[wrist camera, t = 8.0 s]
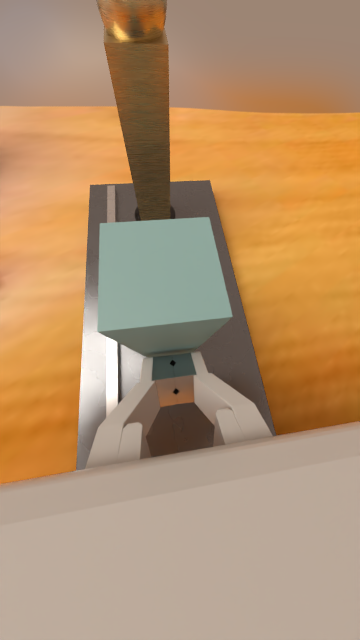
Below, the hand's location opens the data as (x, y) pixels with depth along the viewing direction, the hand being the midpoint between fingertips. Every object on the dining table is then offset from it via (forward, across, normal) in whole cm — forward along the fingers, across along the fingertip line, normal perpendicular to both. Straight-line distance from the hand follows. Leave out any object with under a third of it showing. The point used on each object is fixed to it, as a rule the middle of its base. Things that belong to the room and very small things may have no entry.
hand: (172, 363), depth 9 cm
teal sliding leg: (+4, 0, +1) cm, 4 cm away
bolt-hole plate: (+9, 0, 0) cm, 9 cm away
